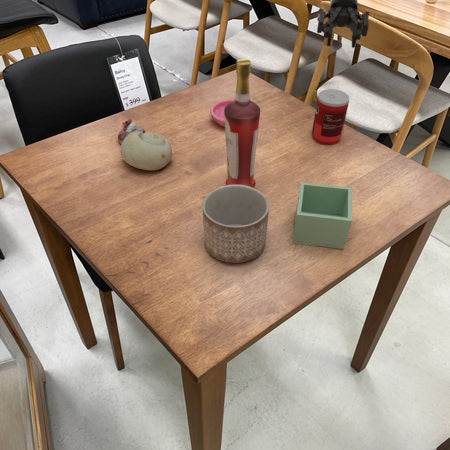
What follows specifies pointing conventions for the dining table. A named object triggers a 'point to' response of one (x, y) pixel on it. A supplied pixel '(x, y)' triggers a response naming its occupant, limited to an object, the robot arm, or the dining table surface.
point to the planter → (235, 222)
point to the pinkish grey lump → (128, 130)
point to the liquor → (241, 130)
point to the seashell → (146, 150)
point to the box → (323, 215)
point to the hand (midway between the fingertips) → (342, 40)
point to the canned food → (330, 116)
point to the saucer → (219, 111)
